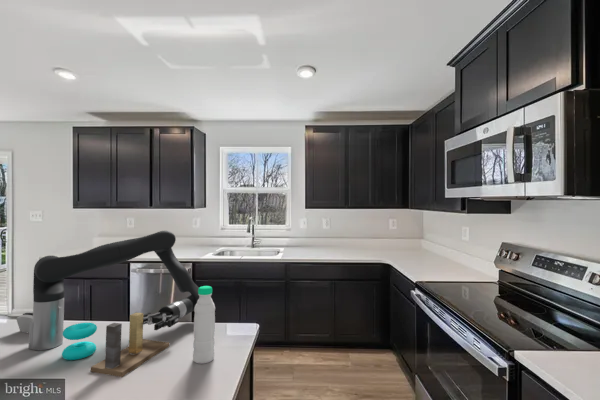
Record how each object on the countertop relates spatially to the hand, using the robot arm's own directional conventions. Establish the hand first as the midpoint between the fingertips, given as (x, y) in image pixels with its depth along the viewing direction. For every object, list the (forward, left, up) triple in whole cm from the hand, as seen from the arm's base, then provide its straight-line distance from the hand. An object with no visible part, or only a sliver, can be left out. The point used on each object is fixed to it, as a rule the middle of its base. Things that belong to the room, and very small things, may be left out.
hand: (145, 326), depth 117 cm
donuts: (-22, -1, -9) cm, 23 cm away
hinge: (-50, +21, -9) cm, 55 cm away
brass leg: (-2, -4, -7) cm, 8 cm away
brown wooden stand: (-2, -4, -9) cm, 10 cm away
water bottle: (+22, -8, -9) cm, 26 cm away
